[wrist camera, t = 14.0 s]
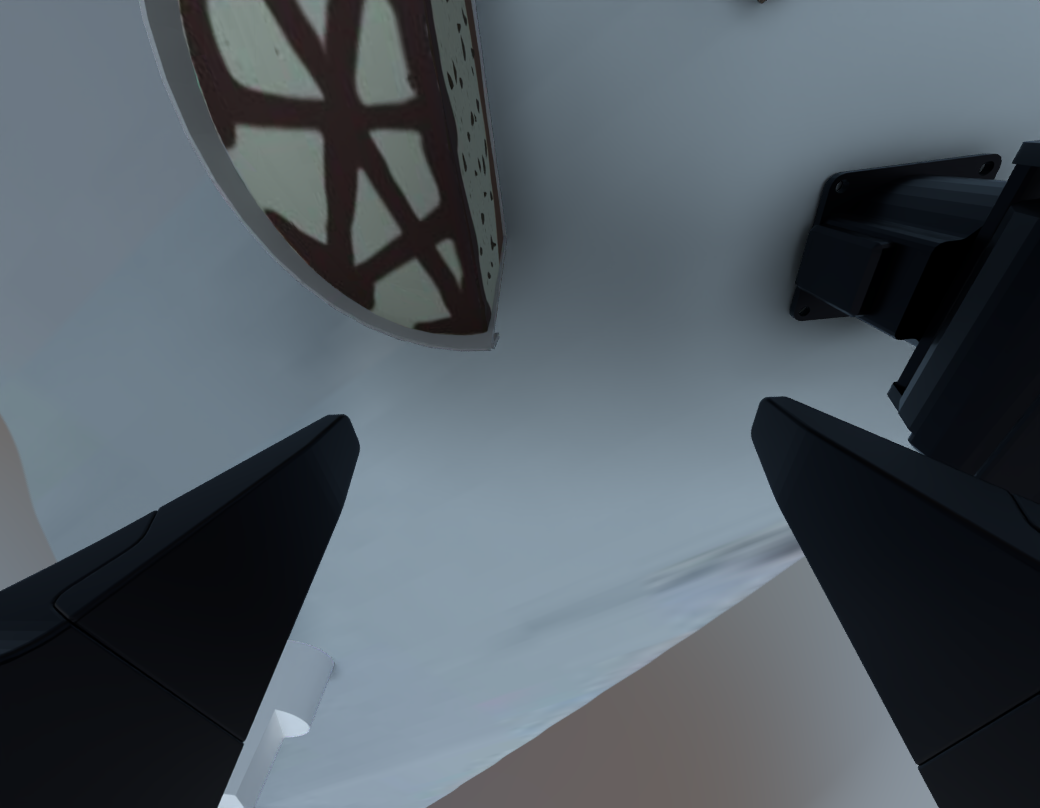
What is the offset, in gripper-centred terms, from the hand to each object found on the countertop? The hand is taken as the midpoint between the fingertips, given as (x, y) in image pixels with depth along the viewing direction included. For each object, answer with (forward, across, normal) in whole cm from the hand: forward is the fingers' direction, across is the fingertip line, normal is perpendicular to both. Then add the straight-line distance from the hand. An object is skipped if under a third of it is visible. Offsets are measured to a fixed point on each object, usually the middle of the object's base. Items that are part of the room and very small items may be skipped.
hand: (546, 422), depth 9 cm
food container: (+13, +5, -6) cm, 15 cm away
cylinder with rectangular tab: (+12, +31, +42) cm, 54 cm away
